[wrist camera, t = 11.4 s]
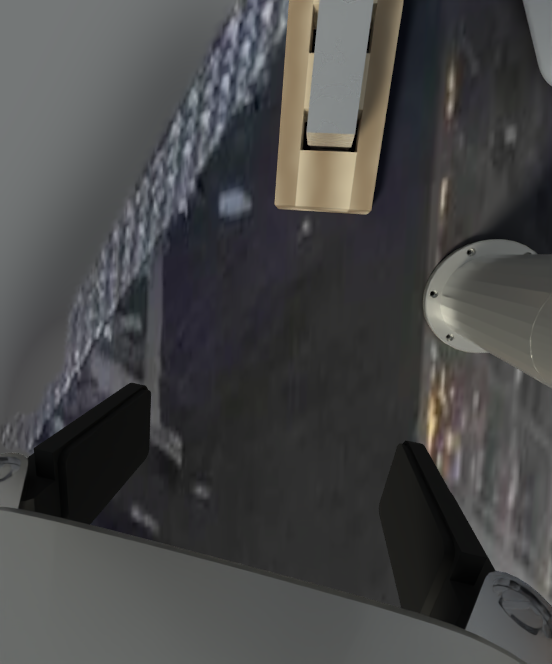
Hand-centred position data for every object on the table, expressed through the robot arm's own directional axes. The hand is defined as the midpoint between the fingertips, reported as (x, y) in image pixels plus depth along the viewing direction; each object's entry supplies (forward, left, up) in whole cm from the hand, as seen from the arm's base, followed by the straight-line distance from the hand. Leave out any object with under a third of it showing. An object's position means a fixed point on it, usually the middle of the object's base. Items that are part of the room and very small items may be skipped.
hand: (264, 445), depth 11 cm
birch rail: (-1, -23, -27) cm, 35 cm away
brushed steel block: (-1, -23, -27) cm, 35 cm away
